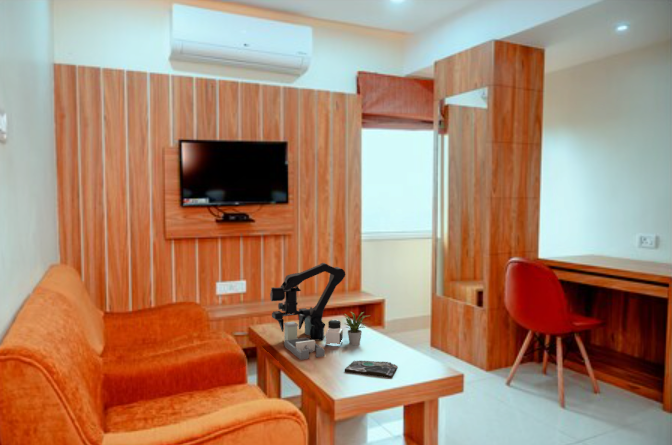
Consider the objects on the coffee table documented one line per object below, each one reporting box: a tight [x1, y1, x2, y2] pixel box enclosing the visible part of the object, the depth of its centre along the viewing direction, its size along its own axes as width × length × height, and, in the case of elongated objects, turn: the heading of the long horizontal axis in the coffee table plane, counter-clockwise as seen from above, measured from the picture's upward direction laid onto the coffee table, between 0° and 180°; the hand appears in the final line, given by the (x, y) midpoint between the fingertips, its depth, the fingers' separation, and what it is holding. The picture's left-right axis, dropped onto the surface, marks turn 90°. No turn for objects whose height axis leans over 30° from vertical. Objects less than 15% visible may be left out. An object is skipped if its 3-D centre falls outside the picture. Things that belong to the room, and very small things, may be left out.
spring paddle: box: [295, 340, 316, 354], centre depth 224 cm, size 8×9×5 cm
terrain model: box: [344, 360, 398, 379], centre depth 206 cm, size 20×15×3 cm
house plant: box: [344, 311, 371, 346], centre depth 241 cm, size 14×14×16 cm
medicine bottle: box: [325, 319, 344, 345], centre depth 239 cm, size 7×7×12 cm
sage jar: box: [283, 321, 299, 341], centre depth 244 cm, size 5×5×9 cm
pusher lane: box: [283, 336, 326, 360], centre depth 228 cm, size 21×12×4 cm, turn 26°
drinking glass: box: [303, 308, 323, 336], centre depth 257 cm, size 10×10×12 cm
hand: (291, 330), depth 243 cm, fingers open, 9 cm apart
